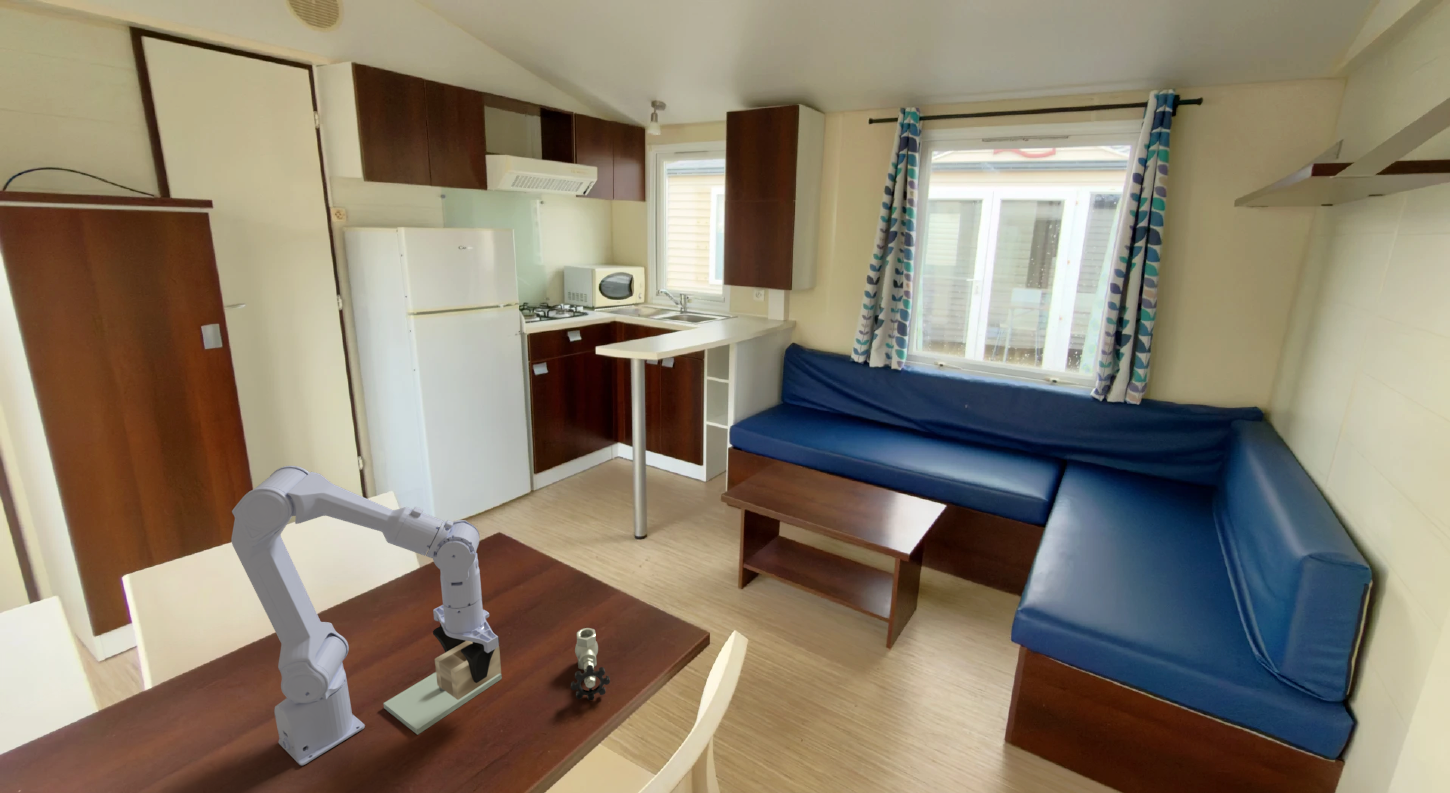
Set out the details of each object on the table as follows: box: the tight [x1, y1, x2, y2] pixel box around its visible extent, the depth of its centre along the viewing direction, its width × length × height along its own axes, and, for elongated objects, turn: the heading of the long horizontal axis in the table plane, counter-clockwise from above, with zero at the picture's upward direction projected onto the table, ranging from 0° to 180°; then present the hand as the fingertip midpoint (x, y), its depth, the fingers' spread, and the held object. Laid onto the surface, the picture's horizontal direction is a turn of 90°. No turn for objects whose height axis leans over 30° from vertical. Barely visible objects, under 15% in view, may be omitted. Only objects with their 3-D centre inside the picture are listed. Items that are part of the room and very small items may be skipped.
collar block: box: [434, 641, 502, 700], centre depth 103 cm, size 8×6×5 cm
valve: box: [570, 627, 611, 701], centre depth 114 cm, size 7×7×12 cm
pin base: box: [383, 671, 503, 736], centre depth 109 cm, size 16×10×4 cm, turn 146°
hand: (469, 671), depth 103 cm, fingers closed on collar block, 6 cm apart
